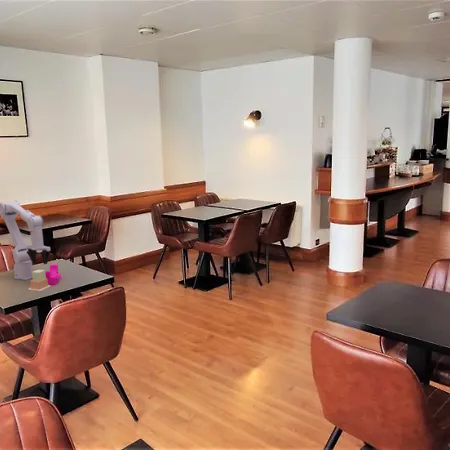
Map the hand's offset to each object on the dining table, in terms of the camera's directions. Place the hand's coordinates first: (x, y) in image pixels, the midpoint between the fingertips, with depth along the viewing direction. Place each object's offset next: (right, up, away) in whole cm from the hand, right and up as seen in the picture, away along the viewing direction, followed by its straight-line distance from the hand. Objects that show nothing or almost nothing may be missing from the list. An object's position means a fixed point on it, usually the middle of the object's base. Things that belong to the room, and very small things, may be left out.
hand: (39, 263), depth 245 cm
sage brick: (+3, -8, -9) cm, 12 cm away
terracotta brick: (+3, -12, -8) cm, 15 cm away
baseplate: (+3, -12, -8) cm, 15 cm away
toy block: (+6, -10, +3) cm, 12 cm away
